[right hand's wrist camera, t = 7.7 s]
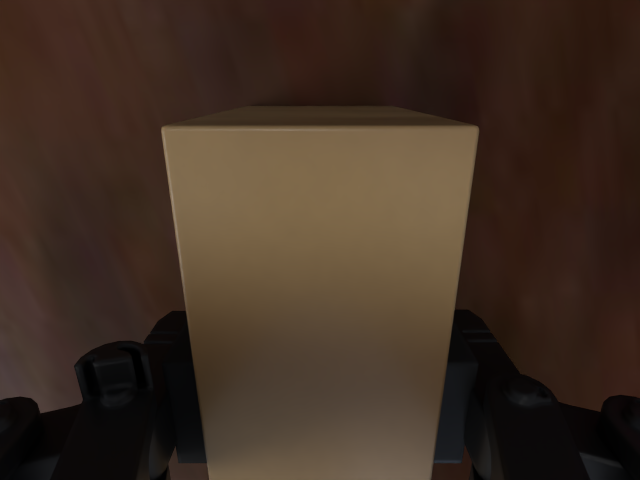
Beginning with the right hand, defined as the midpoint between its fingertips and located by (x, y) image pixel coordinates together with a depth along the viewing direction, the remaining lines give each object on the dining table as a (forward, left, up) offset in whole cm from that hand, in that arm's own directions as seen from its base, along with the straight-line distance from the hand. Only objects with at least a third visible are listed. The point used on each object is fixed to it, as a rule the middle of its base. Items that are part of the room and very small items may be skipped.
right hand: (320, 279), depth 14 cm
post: (+23, +5, -1) cm, 23 cm away
